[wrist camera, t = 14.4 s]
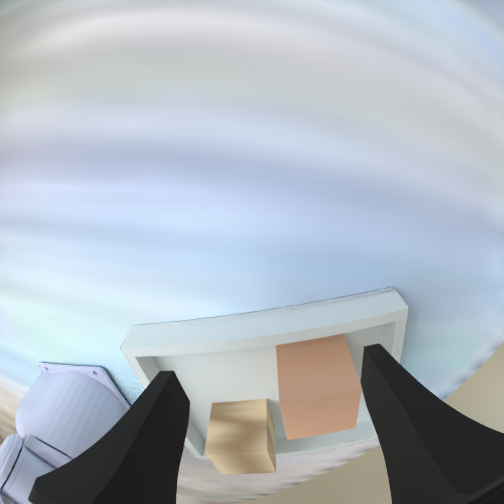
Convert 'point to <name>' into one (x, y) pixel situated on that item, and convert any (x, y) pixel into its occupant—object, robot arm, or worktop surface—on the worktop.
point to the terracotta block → (317, 387)
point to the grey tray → (264, 358)
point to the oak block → (241, 437)
